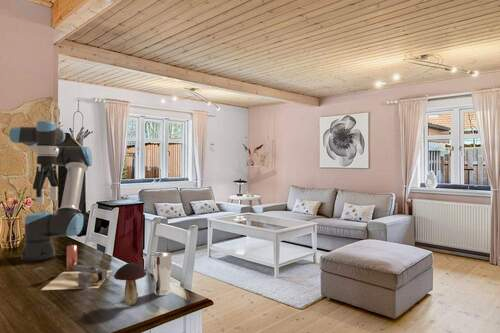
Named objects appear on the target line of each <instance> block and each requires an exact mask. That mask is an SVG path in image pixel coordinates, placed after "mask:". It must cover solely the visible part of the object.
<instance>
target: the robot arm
mask: <svg viewBox="0 0 500 333" xmlns="http://www.w3.org/2000/svg"><path fill="white" fill-rule="evenodd" d="M8 135H9V139H10V141H11V142H12V143H15V144H22V145H24V146H26V147H27V148H29V149H31V150H32V151H34V152H35V153H36V155H37V156H36V164H37V165H40V166H36V170H35V171H36V172H35V177H34V181H33V185H32V189H33V190H35V205H44V203H45V202H44V200H45V198H44V184H45V182H46V179H47V180H48V182H49V185H50V187H49V201H51V202H53V201H58V198H57V197H58V193H57V192H58V190H57V189H58V188H57V187H60V181H59V177H58V173H57V166H60V167H65V168H66V169H67V173H66V177H65V182H64V189H63V194H62V199H61V205H60V207H59V208H57V210H56V213H54V214H53V213H52V211H50V210H47V211H39V212H34V213H31V214H28V215H26V216H25V218H24V246H23V248H22V251H21V255H20V260H21V261H24V262H37V261H43V260H48V259H51V258H53V257H55V256H56V249H55V248H54V245H53V242H52V238H53V237H56V238H57V237H74V236H78V235H79V234H80V233H81V232H82V230H83V226H84V221H85V220H84V218H85V217H84V214H82V211H81V209H80V207H79V206H80V201H81V196H82V190H83V189H82V188H83V184H84V175H85V172H87V171H88V168H89V167H92V165H93V156H92V151H91V149H90V148H89V147H88V146H82V145H81V146H72V145H71V146H70V145H69V146H68V145H67V146H65V145H58V144H61V143H63V142H64V141H65V139H66V133H65V131H64V130H63V129H61V128H59V127H57V125H56V122H55V121H51V120H49V121H48V120H39V121H37V122H36V126H33V127H32V126H13V127H11V128H10V130H9V134H8Z"/></svg>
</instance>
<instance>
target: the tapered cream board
mask: <svg viewBox="0 0 500 333" xmlns="http://www.w3.org/2000/svg"><path fill="white" fill-rule="evenodd" d="M112 272H113V269H112V270H108V269H107V278H108V277H109V276H110V275H111V273H112ZM105 280H106V279H103V280H100V279H98V281H97V282H96V283H92V273H88V272H79V271H63V272H61V273H59V274H58V276H56V277H55V278H54V279H52V280H51V281H49V283H47V284H46V285H45V286H44V287H42V288H41V289H40V291H51V290H52V291H55V290H56V291H57V290H58V291H59V290H79V289H99V288H100V286H101V285H102V284H103V283H104V282H105Z"/></svg>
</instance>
